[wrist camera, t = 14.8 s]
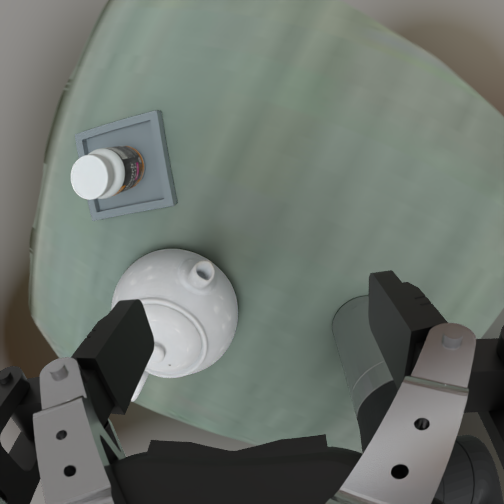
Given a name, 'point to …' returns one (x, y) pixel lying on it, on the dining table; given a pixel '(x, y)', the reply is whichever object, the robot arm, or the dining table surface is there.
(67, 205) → the dining table surface
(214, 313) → the teapot
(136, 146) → the dish
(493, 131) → the dining table surface
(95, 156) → the pill bottle
